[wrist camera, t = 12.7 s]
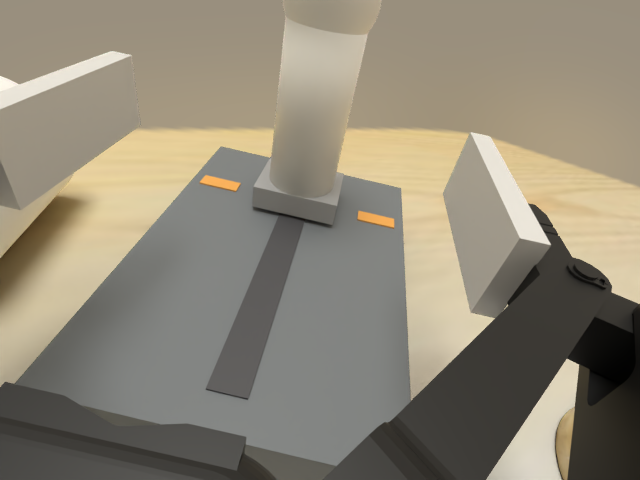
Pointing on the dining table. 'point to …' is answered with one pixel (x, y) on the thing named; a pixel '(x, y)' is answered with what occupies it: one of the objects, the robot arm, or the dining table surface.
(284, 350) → the console
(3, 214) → the mug
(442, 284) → the dining table surface
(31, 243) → the dining table surface
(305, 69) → the lever
